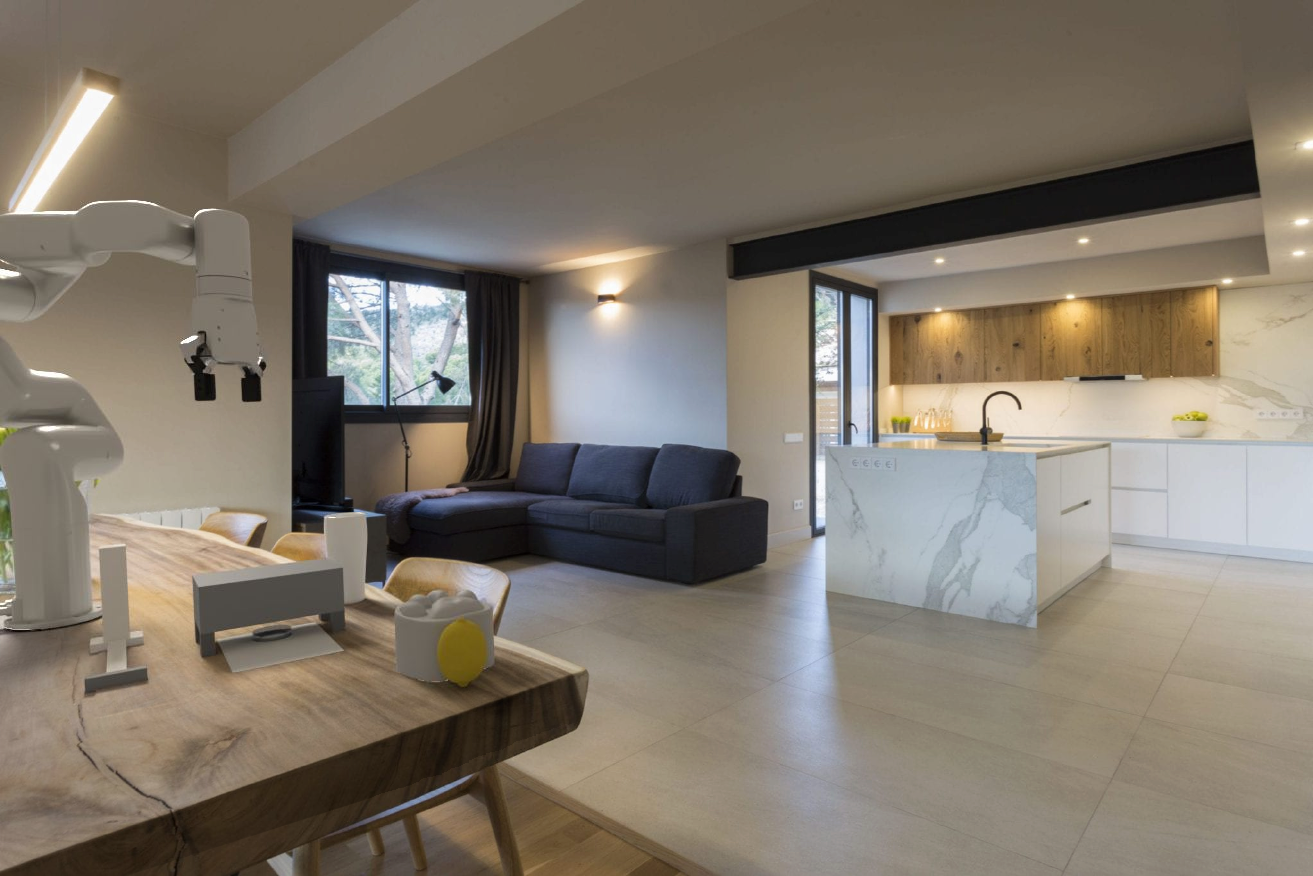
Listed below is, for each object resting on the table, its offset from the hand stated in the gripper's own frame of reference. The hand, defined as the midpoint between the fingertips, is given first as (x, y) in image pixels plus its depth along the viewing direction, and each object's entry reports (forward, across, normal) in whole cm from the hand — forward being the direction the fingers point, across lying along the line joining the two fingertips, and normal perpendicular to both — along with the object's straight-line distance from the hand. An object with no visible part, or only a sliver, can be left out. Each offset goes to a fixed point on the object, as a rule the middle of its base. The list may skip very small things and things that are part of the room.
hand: (229, 401), depth 115 cm
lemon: (+35, +24, +49) cm, 65 cm away
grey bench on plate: (+35, +8, +12) cm, 38 cm away
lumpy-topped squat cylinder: (+35, +17, +43) cm, 58 cm away
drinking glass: (+35, -12, +12) cm, 38 cm away
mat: (+35, +12, +16) cm, 40 cm away
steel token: (+34, +9, +13) cm, 38 cm away
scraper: (+35, +21, -1) cm, 40 cm away
